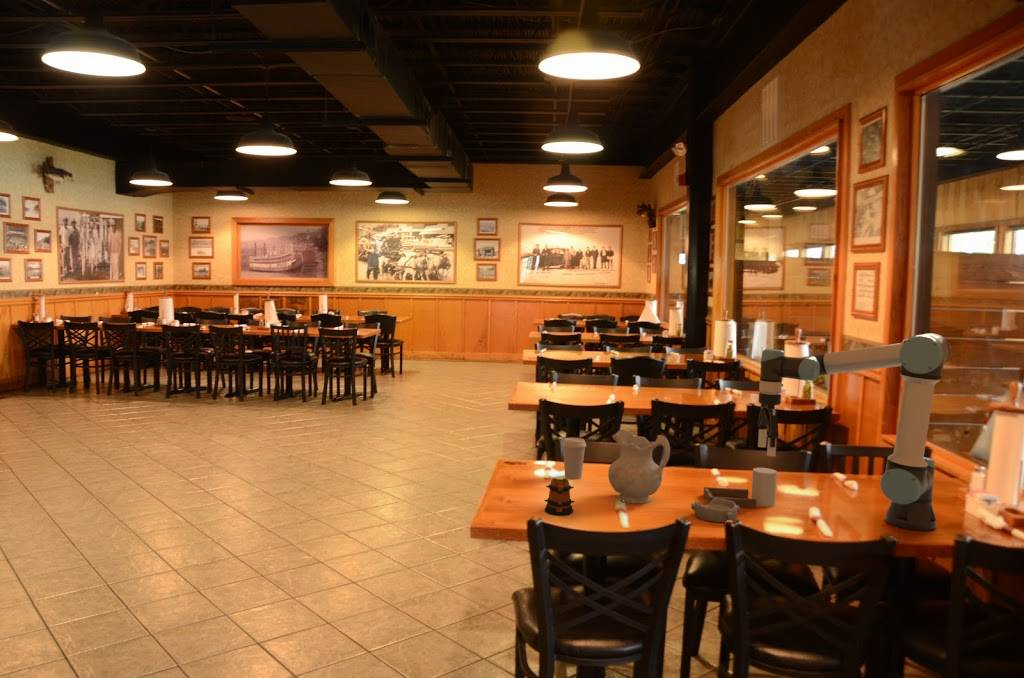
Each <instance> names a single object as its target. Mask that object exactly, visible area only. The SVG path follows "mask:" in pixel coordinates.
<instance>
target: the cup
mask: <svg viewBox="0 0 1024 678" xmlns="http://www.w3.org/2000/svg"><path fill="white" fill-rule="evenodd" d="M777 475H778V472H777V470H775V469H772V468H767V467H754V468H752V481H751V498H750V499H756V500H757V502H756V507H757V506H758V507H765V508H771V507H775V506H776V494H777V477H778V476H777Z"/></svg>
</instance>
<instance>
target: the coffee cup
mask: <svg viewBox="0 0 1024 678" xmlns="http://www.w3.org/2000/svg"><path fill="white" fill-rule="evenodd" d="M561 445H562V446H563V464H564V465H563V467H564V478H565V479H567V480H580V479H582V474H583V466H584V459H585V458H584V457H585V451H586V450H585V449H586V447H587V443H586V441H585V439H584V438H582V437H565V438H564V440H563V441H562V444H561Z"/></svg>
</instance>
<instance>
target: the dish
mask: <svg viewBox="0 0 1024 678" xmlns="http://www.w3.org/2000/svg"><path fill="white" fill-rule="evenodd" d="M690 508H691V510H693V511H694V514H695V516H696V517H697V518H699V519H701V520H703V521H707V522H713V523H726V522H725V521H727V520H734V521H735V520H737V518H738V513H740V512H741V511H740V509H741V508H740V507H739V506H736V504H735V503H734V502H732V501H729V500H725V499H718V498H713V499H712V501H711V502H710V503H709V504H706V505H705V504H704V505H703V504H702V503H701V502H700V501H699V500H695V501H694V502H692V503H691V504H690Z"/></svg>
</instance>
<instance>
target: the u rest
mask: <svg viewBox="0 0 1024 678" xmlns="http://www.w3.org/2000/svg"><path fill="white" fill-rule="evenodd" d="M749 492H750V491H749V489H748V488H731V487H729V488H728V487H710V486H709V487H707V486H703V493H702V495H703V496H704V498H705V500H706V502H707V503H708V504H709V503H710V502H711V501H712V499H713V498H718V499H725V500H729V501H732V502H734V503H735V504H736V506H739V507H740V509H757V505H756V502H757V500H756V499H751V498H749ZM708 504H707V505H708Z"/></svg>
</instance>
